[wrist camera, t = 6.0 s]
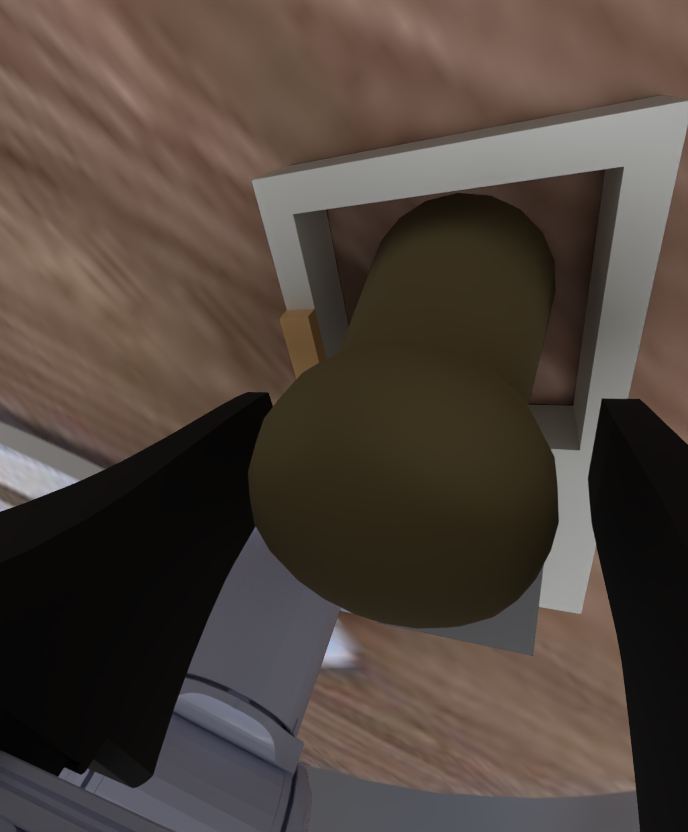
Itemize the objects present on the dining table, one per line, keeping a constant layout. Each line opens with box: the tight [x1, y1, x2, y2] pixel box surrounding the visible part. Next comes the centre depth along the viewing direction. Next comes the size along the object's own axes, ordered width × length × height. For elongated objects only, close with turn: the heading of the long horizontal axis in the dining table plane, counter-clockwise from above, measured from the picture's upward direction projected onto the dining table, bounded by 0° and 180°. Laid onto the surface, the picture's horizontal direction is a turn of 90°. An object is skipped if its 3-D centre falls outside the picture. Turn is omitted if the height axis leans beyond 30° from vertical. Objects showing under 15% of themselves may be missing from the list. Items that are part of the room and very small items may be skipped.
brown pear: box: [248, 193, 559, 629], centre depth 11 cm, size 6×6×11 cm
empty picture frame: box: [252, 95, 688, 656], centre depth 15 cm, size 10×18×6 cm, turn 12°
